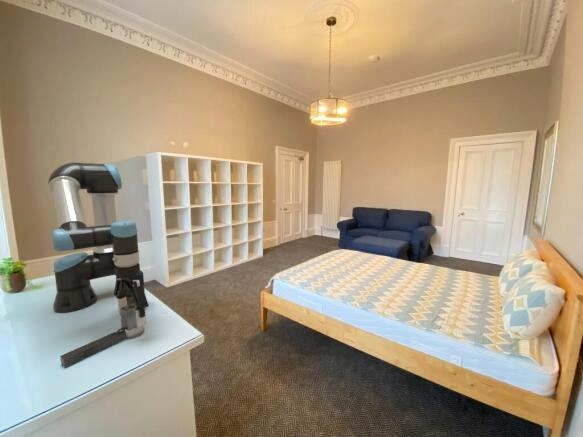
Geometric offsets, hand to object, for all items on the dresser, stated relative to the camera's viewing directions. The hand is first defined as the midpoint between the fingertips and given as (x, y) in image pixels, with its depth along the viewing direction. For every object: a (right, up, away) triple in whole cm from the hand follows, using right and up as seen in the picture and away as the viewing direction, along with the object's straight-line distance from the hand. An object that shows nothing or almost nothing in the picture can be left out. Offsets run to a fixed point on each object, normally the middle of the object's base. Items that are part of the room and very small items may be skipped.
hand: (132, 319), depth 91 cm
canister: (-11, -3, +18) cm, 22 cm away
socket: (0, -2, 0) cm, 2 cm away
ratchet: (-4, -6, -6) cm, 10 cm away
